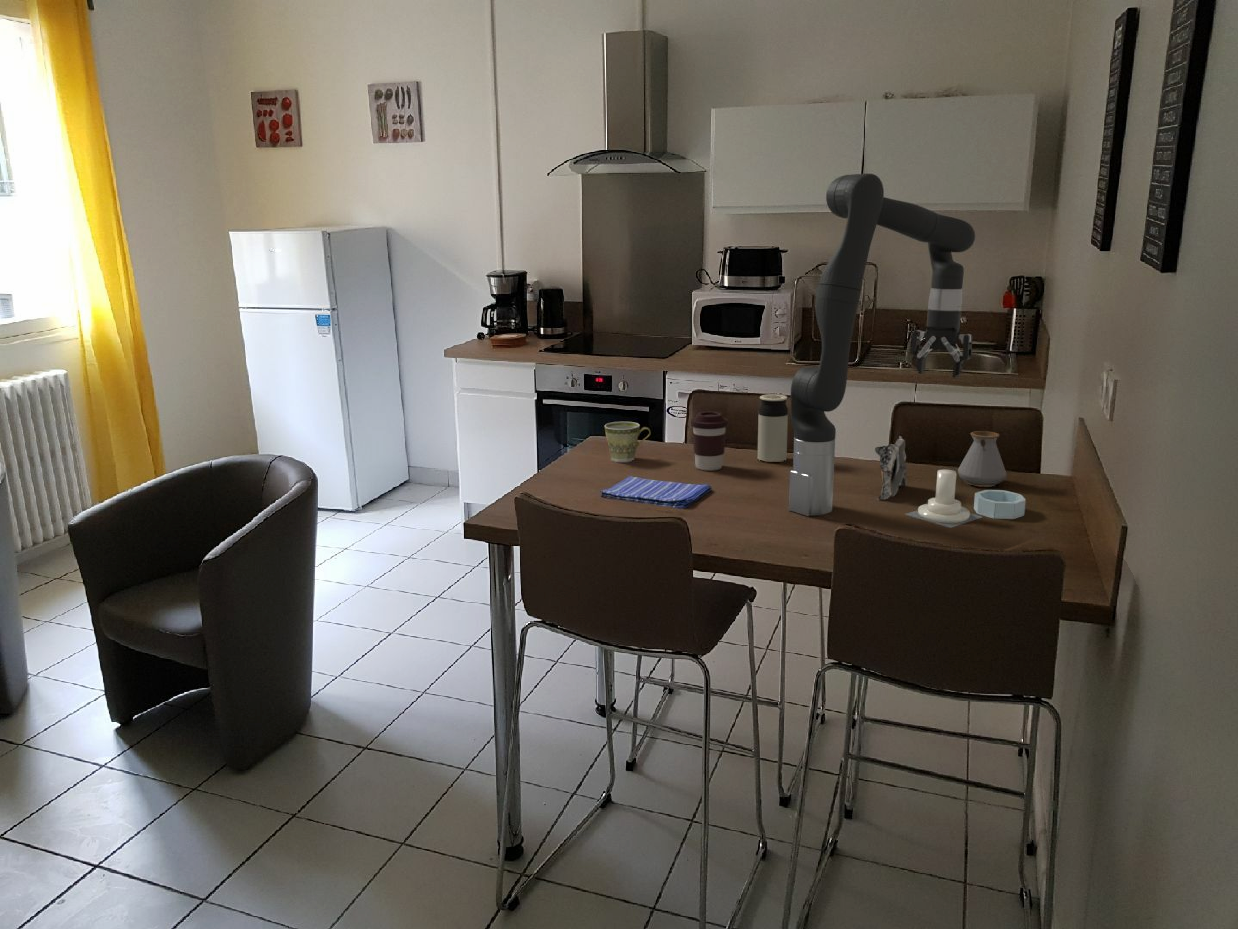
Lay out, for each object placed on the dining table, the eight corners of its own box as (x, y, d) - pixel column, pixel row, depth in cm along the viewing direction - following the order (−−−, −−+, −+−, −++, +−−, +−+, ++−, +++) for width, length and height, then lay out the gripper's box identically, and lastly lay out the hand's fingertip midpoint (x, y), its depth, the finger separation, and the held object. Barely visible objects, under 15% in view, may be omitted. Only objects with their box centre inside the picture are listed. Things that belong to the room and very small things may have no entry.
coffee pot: (958, 475, 239) (963, 419, 235) (1006, 479, 234) (1012, 422, 230) (951, 497, 220) (956, 437, 216) (1002, 503, 215) (1008, 441, 211)
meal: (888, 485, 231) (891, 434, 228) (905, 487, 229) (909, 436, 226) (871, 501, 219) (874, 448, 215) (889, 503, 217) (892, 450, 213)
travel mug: (764, 464, 252) (765, 400, 247) (753, 457, 259) (754, 395, 255) (791, 462, 254) (793, 398, 249) (779, 455, 261) (781, 393, 257)
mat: (950, 529, 198) (950, 527, 198) (904, 515, 208) (904, 514, 207) (982, 518, 205) (983, 516, 205) (936, 505, 214) (937, 504, 214)
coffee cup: (690, 463, 255) (690, 410, 251) (725, 462, 255) (726, 409, 251) (691, 472, 245) (691, 417, 241) (728, 472, 245) (729, 417, 241)
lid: (949, 526, 199) (953, 481, 196) (907, 514, 207) (910, 470, 205) (979, 516, 205) (983, 472, 202) (937, 505, 213) (940, 462, 211)
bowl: (1005, 523, 201) (1007, 505, 200) (965, 512, 209) (967, 495, 208) (1031, 514, 207) (1033, 497, 206) (991, 503, 215) (992, 487, 214)
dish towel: (687, 511, 215) (687, 500, 214) (598, 499, 226) (597, 488, 225) (713, 492, 230) (713, 481, 229) (629, 481, 240) (629, 471, 240)
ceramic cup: (604, 464, 255) (603, 429, 253) (606, 455, 265) (605, 421, 262) (650, 464, 255) (650, 428, 252) (650, 455, 264) (650, 421, 262)
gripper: (909, 306, 220) (903, 374, 224) (968, 310, 211) (961, 380, 215) (922, 305, 225) (916, 370, 229) (980, 308, 216) (973, 376, 220)
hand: (938, 375), depth 222 cm, fingers open, 8 cm apart
